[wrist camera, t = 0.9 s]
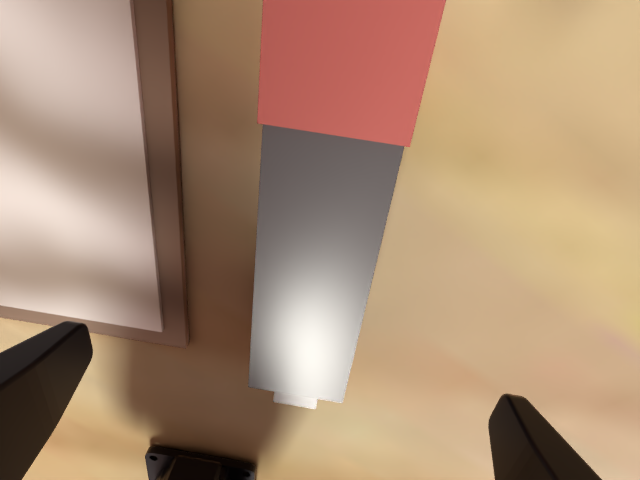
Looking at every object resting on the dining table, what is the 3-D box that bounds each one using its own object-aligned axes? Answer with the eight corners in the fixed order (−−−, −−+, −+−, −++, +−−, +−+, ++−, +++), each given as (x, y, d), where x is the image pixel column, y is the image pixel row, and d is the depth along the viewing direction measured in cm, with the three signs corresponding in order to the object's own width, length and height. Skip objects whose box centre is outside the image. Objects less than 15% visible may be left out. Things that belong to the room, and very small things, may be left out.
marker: (342, 363, 19) (337, 437, 16) (263, 350, 19) (242, 420, 16) (424, -2, 12) (446, -5, 8) (293, -21, 12) (264, -32, 8)
